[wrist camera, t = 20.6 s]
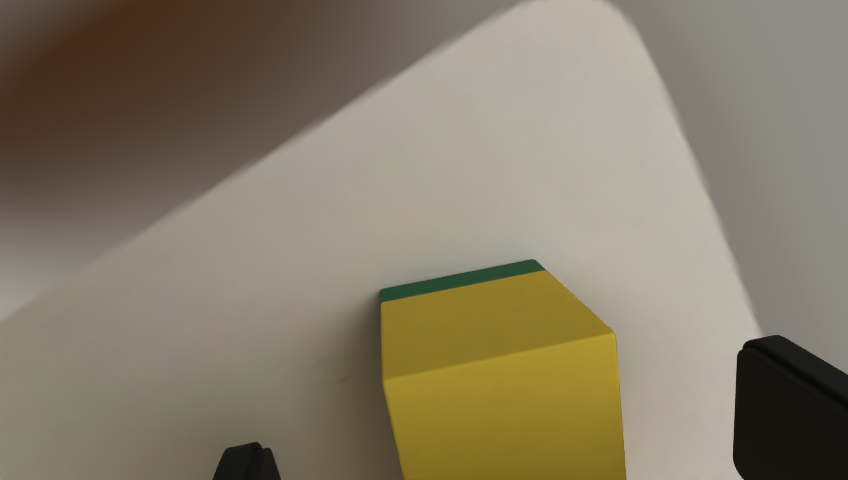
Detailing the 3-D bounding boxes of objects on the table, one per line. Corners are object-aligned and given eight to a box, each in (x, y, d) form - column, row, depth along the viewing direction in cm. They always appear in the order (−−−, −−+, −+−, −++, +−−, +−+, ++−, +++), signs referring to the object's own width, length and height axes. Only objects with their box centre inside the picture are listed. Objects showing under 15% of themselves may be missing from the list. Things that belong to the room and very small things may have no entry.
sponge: (535, 257, 14) (617, 333, 9) (564, 506, 16) (641, 668, 12) (379, 288, 14) (381, 381, 9) (431, 535, 16) (455, 712, 11)
